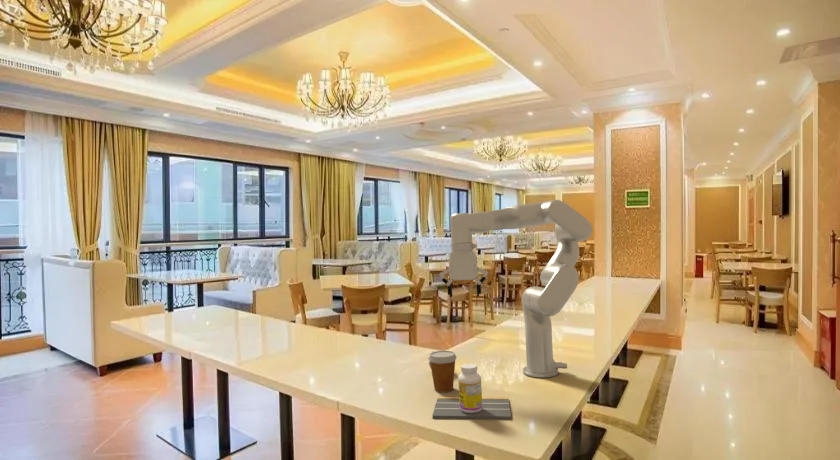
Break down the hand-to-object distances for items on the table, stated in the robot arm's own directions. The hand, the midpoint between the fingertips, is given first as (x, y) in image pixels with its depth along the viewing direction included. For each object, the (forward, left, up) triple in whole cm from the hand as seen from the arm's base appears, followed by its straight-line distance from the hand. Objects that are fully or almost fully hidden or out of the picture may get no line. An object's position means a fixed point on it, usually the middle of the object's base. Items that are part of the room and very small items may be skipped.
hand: (464, 296), depth 160 cm
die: (+11, -10, -31) cm, 34 cm away
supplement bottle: (-2, +28, -30) cm, 40 cm away
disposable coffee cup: (+8, +8, -30) cm, 32 cm away
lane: (-2, +25, -30) cm, 39 cm away
